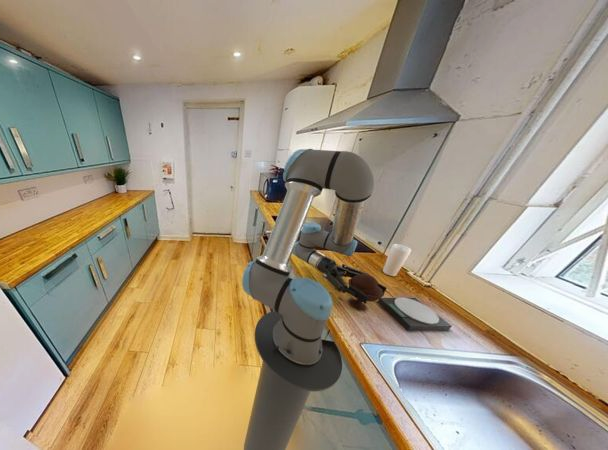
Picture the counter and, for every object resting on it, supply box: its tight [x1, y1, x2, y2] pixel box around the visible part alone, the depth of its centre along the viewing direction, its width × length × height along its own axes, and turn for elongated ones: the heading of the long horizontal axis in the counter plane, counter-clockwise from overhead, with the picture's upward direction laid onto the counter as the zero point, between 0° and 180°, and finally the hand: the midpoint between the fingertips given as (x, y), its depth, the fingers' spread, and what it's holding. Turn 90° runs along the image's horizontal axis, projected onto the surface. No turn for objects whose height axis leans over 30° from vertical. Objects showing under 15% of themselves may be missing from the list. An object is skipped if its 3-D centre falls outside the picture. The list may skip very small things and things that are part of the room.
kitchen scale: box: [377, 297, 452, 332], centre depth 74 cm, size 15×13×3 cm
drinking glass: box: [382, 243, 412, 277], centre depth 95 cm, size 7×7×15 cm
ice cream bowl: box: [348, 274, 385, 311], centre depth 76 cm, size 11×11×15 cm
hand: (376, 295), depth 72 cm, fingers closed on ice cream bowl, 11 cm apart
